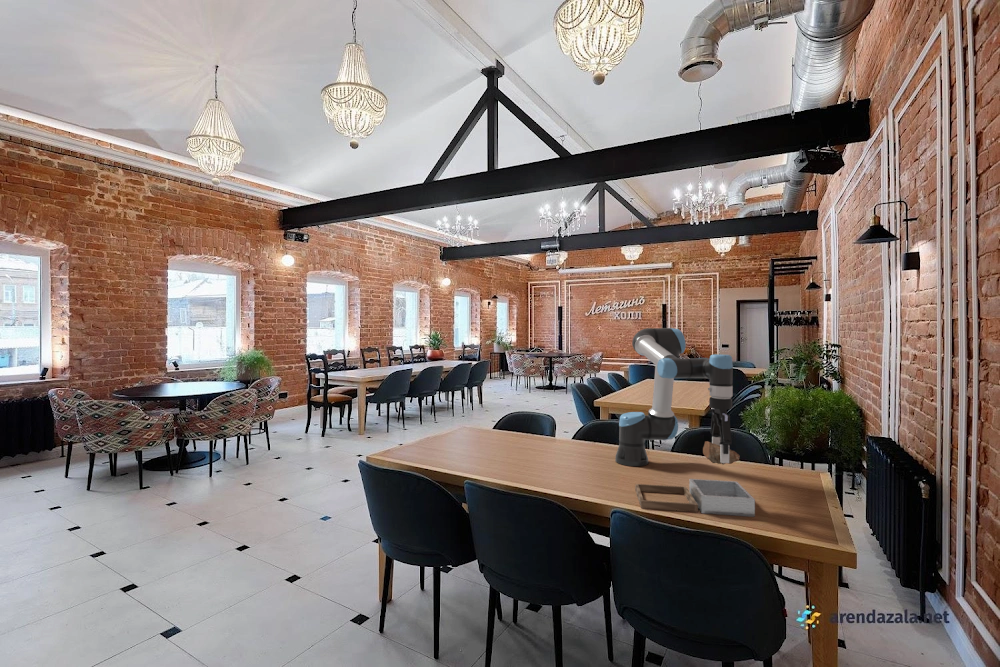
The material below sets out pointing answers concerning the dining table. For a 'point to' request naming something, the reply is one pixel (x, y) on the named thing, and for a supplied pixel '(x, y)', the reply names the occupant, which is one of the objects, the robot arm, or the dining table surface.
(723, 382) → the robot arm
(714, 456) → the stone
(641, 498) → the frame
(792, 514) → the dining table surface
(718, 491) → the bin
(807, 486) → the dining table surface
